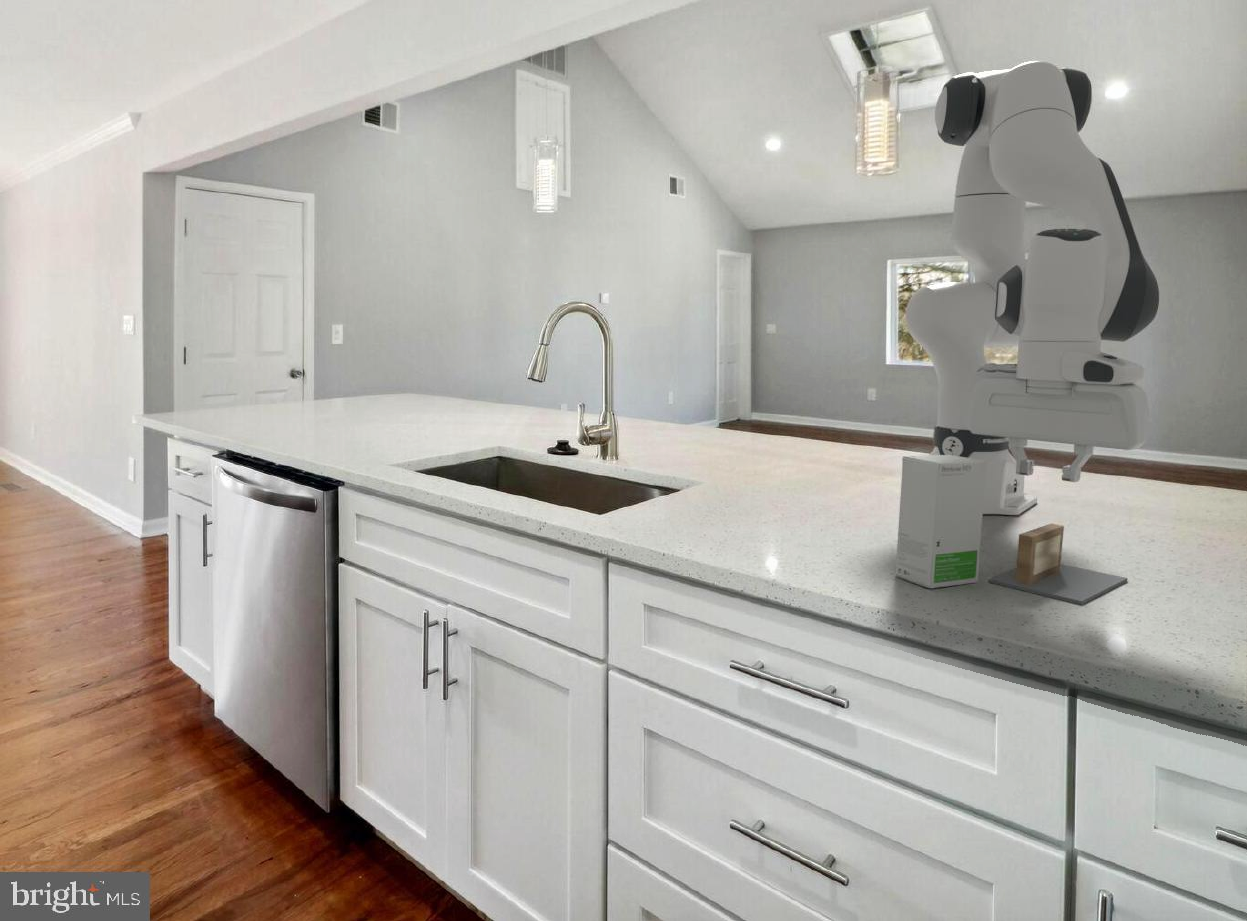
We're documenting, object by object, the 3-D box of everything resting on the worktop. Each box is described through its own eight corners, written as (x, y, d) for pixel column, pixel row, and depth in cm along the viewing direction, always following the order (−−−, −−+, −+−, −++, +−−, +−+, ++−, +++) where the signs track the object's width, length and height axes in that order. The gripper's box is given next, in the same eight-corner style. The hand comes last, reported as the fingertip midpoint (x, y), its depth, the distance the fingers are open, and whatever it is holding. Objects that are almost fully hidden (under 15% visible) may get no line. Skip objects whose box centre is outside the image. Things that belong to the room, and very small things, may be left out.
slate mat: (1037, 562, 112) (1038, 559, 112) (1127, 581, 104) (1127, 578, 104) (988, 581, 103) (988, 578, 103) (1081, 604, 95) (1081, 601, 95)
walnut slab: (1046, 568, 108) (1051, 523, 107) (1060, 571, 106) (1064, 525, 105) (1015, 581, 102) (1019, 534, 101) (1029, 584, 101) (1033, 537, 100)
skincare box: (929, 590, 100) (937, 463, 97) (891, 575, 106) (898, 455, 103) (980, 582, 103) (990, 459, 100) (941, 568, 109) (949, 451, 106)
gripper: (962, 363, 106) (954, 469, 108) (1140, 369, 90) (1127, 493, 93) (985, 361, 110) (978, 464, 112) (1160, 368, 94) (1147, 486, 97)
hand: (1046, 477), depth 102 cm, fingers open, 4 cm apart
